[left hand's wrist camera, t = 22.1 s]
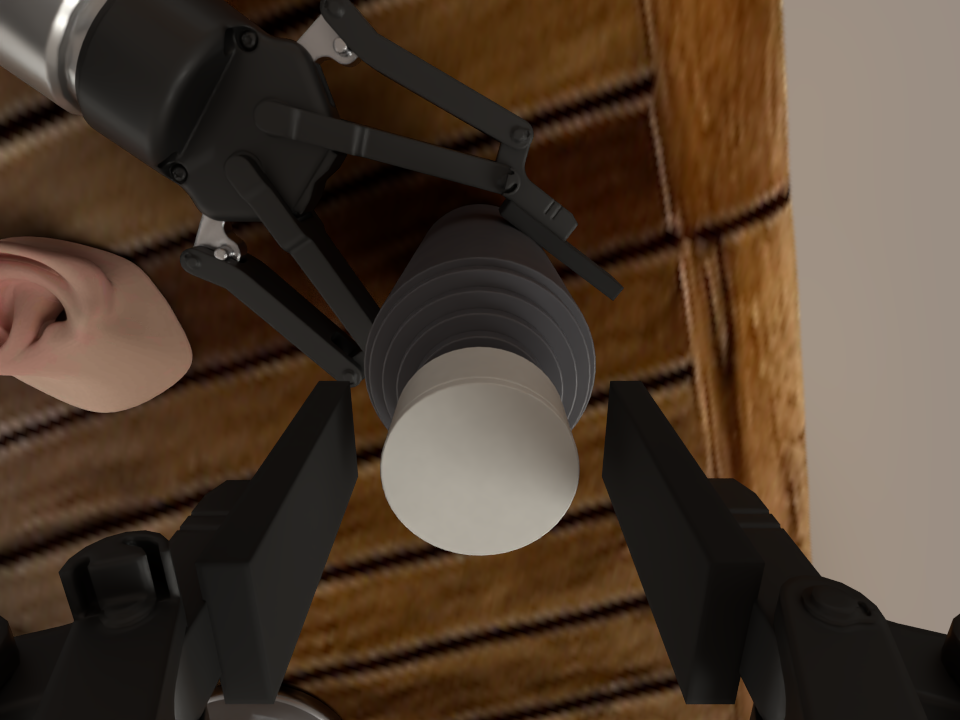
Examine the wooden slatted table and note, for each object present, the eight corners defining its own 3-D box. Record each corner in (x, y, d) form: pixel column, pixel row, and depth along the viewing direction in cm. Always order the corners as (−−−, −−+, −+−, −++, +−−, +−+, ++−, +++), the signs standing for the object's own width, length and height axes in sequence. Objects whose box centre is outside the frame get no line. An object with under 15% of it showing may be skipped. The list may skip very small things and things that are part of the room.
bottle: (502, 178, 32) (542, 236, 11) (564, 289, 34) (691, 502, 14) (392, 247, 33) (253, 408, 13) (459, 349, 35) (432, 626, 15)
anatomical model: (190, 353, 31) (81, 484, 34) (221, 331, 35) (120, 451, 37) (-42, 175, 28) (-140, 337, 31) (20, 171, 31) (-73, 317, 34)
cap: (443, 314, 14) (436, 346, 11) (597, 394, 14) (618, 439, 12) (366, 455, 15) (347, 508, 13) (511, 522, 16) (516, 582, 14)
